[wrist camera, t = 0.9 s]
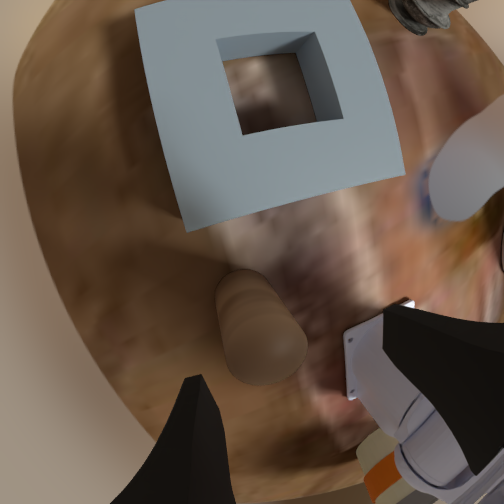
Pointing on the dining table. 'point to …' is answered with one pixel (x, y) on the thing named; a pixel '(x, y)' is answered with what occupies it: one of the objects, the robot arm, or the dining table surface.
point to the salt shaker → (425, 13)
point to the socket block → (271, 141)
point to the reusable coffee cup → (386, 472)
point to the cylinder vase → (503, 252)
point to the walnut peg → (257, 330)
